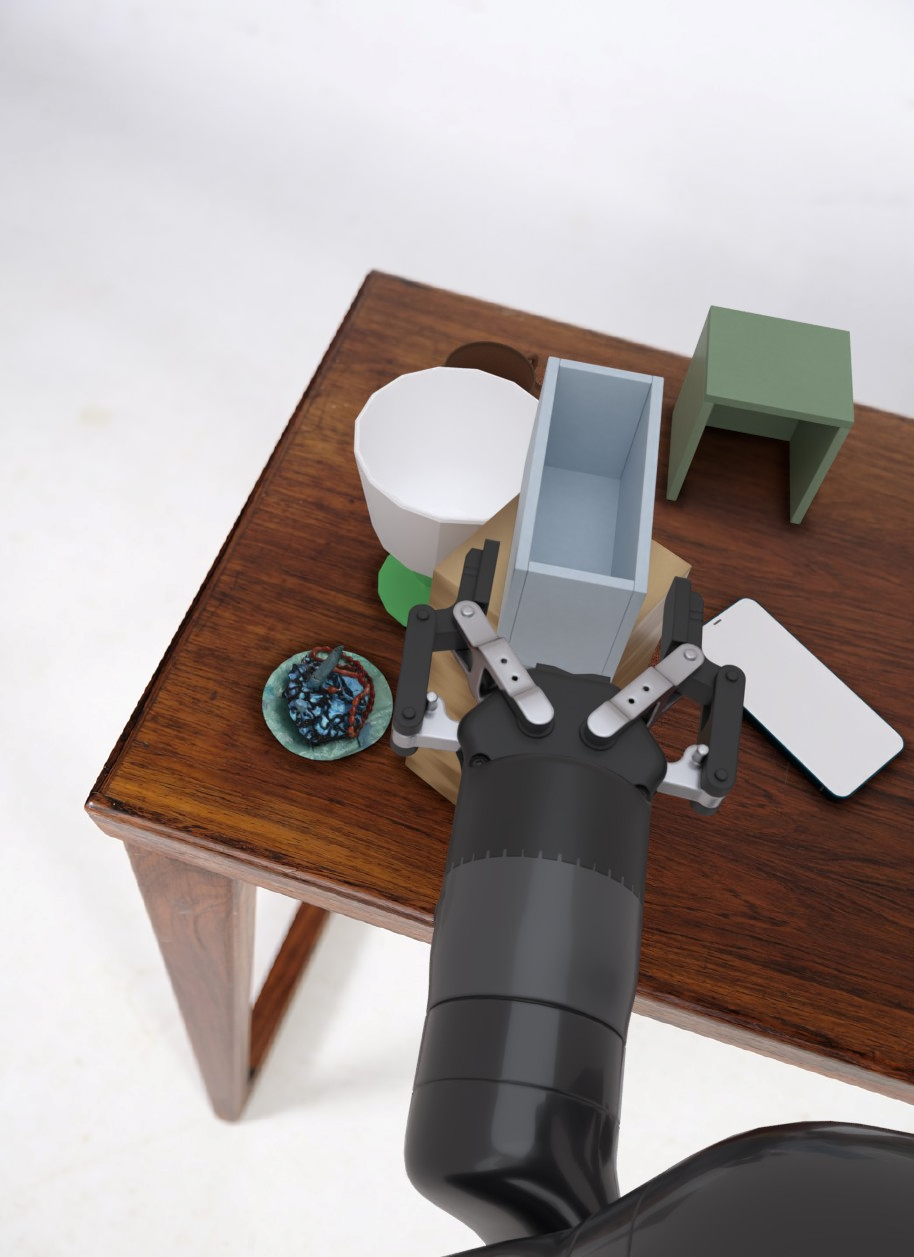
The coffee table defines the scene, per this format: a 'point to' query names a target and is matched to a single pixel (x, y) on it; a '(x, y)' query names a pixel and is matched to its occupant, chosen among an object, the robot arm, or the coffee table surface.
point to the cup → (437, 468)
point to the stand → (445, 670)
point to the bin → (583, 519)
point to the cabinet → (767, 394)
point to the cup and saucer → (498, 363)
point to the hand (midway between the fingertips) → (583, 569)
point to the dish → (327, 703)
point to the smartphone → (801, 701)
